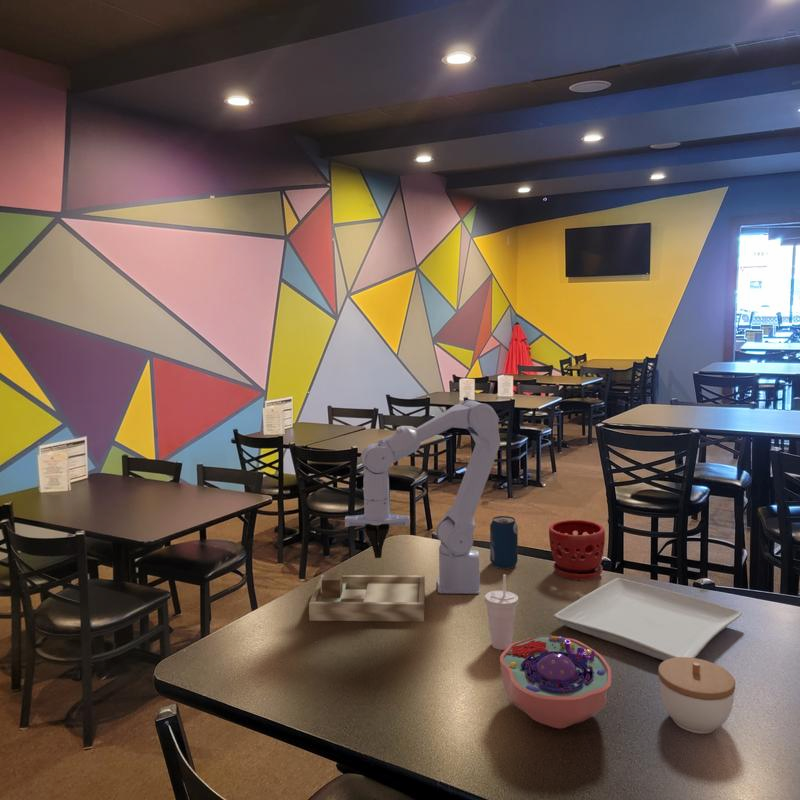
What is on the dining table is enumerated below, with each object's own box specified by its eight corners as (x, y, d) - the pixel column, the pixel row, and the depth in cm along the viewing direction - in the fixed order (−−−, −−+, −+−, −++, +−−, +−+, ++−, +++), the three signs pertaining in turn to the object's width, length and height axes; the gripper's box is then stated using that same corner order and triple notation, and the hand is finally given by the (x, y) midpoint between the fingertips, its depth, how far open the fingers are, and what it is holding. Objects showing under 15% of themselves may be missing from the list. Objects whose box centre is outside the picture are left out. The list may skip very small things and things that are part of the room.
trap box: (424, 590, 153) (424, 575, 153) (423, 621, 138) (423, 604, 137) (322, 590, 155) (321, 575, 154) (309, 620, 139) (308, 603, 138)
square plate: (616, 591, 152) (616, 575, 152) (743, 628, 133) (744, 610, 133) (551, 630, 134) (551, 611, 133) (688, 680, 114) (688, 658, 114)
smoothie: (517, 654, 123) (518, 582, 121) (483, 651, 124) (483, 580, 123) (518, 638, 129) (519, 569, 128) (485, 636, 131) (485, 567, 129)
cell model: (604, 684, 112) (606, 621, 111) (615, 759, 93) (617, 683, 92) (504, 674, 116) (504, 612, 115) (494, 744, 97) (494, 671, 96)
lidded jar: (728, 708, 105) (730, 652, 104) (738, 749, 95) (741, 687, 94) (655, 697, 108) (657, 642, 107) (658, 735, 98) (660, 676, 97)
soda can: (522, 564, 169) (523, 518, 168) (507, 571, 164) (507, 524, 163) (500, 558, 174) (500, 513, 173) (484, 565, 169) (484, 519, 168)
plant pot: (573, 560, 171) (574, 515, 170) (615, 576, 161) (616, 528, 159) (537, 571, 164) (537, 524, 163) (578, 588, 153) (579, 538, 152)
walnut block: (342, 590, 148) (342, 573, 148) (340, 597, 144) (339, 580, 144) (324, 590, 148) (324, 573, 148) (322, 597, 144) (321, 580, 144)
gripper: (342, 503, 145) (344, 563, 146) (408, 502, 144) (409, 562, 145) (346, 494, 152) (348, 552, 153) (409, 494, 151) (410, 551, 152)
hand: (378, 556), depth 150 cm, fingers closed
